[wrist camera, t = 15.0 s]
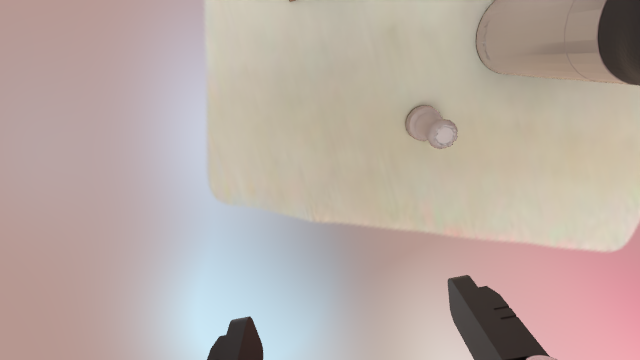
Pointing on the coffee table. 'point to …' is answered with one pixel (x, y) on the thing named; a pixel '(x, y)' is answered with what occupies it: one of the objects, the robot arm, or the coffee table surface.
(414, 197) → the coffee table surface
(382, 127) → the coffee table surface
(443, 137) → the rook chess piece
